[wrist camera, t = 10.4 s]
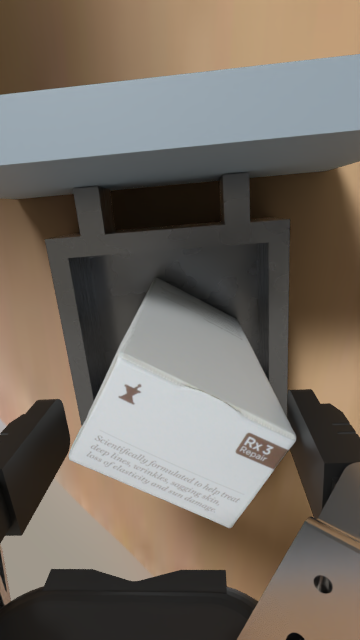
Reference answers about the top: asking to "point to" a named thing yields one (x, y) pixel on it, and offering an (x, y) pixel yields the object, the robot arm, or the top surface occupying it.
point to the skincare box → (186, 410)
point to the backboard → (181, 128)
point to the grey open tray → (170, 280)
